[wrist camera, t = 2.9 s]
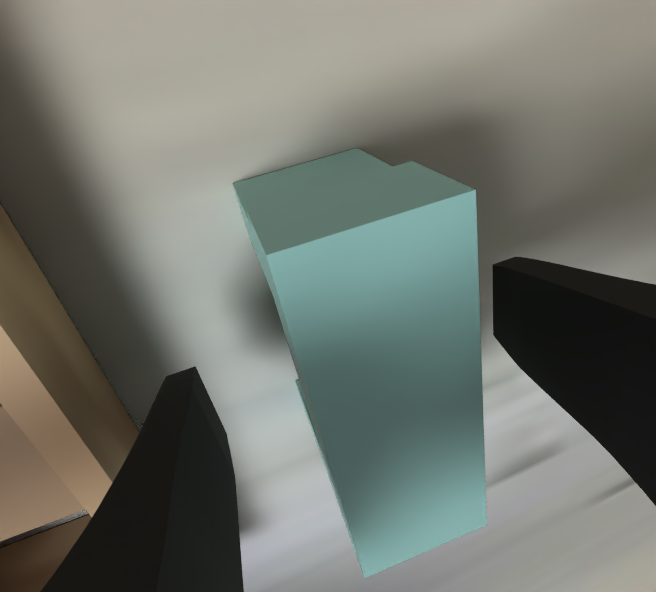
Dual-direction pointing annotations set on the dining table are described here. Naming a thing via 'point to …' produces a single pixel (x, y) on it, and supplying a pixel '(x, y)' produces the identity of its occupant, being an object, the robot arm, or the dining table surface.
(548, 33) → the dining table surface
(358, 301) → the teal block
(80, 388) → the rail
